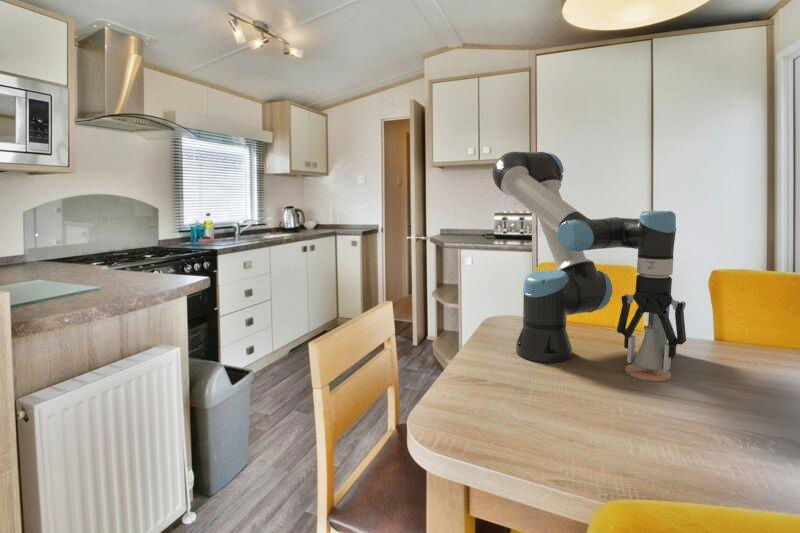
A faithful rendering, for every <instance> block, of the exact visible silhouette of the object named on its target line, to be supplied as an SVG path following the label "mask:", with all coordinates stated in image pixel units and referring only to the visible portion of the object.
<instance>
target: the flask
mask: <svg viewBox="0 0 800 533" xmlns="http://www.w3.org/2000/svg"><path fill="white" fill-rule="evenodd" d="M643 330H644V335H643V339H642V342H641V343H640V346H639V348H638V350H637V352H636V354H635V355H634V360H633V361H632V364H634V365H635V366H637V367H639V368H642V369H648V370H663V367H664V358H663V357H662V355H661V353H660V350H659V347H658V343H657V337H656V333H657V331H658V327H655V326H648V325H643Z"/></svg>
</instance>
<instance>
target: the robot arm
mask: <svg viewBox="0 0 800 533" xmlns="http://www.w3.org/2000/svg"><path fill="white" fill-rule="evenodd" d="M563 173H564V166H563V162H562V161H561V159H560V158H559V157H558V156H557V155H555V153H550V152H545V151H538V152H532V151H510V152H506V153H504V154H503V155H501V156H500V157H499V158H498V159H497V160H496V162H495V163H494V165H493V169H492V180H493V182H494V184H495V186H496V187H497V188H498V190H500V192H502V193H503V194H504V195H506V196H512V197H514V198H515V199H516V200H517V201H518V202H519V203H521V204H522V205H523V206H524V207H525V208H527V209H528V210H529V211H530V212H531V213H533V214H534V216H536V217H537V218H538V221H539V224H540V227H541V229H542V231H543V234H544V237H545V239H546V241H547V244H548V246H549V247H548V248H549V251H550V253H551V255H552V258H553V260H554V263H555V266H556V269H544V270H539V271H534V272H531V273H529V274H528V275H527V276H526V277H525V278H524V282H523V284H524V285H523V290H522V293H523V309H522V310H523V312H522V328H521V329H520V333H519V334H518V335H519V336H518V338H517V341H516V343H515V344H516V345H515V348H516V349H515V352H516V354H517V355H518V356H520V357H521V358H524V359H526V360H529V361H533V362H541V363H562V362H565V361H568V360H570V359H571V358H573V347H572V344H571V340H570V336H569V334H568V332H567V316H571V315H578V314H583V313H593V312H596V311H600V310H602V309H604V308H605V307H606V306H607V305H608V304H609V303H610V301H611V298H612V295H613V284H612V281H611V278H610V276H609V275H608V274H607V273H605V272H604V271H601V270H597V267H596V265H595V263H594V260H591V259H589V258H587V257H586V254H585V252H584V251H592V250H599V249H600V250H601V249H602V250H603V249H604V250H605V249H614V248H627V249H636V250H637V261H636V262H637V263H636V273H637V276H636V279H635V291H634V293H633V294H627V293H626V294H624V295H622V296H621V304H622V305H621V310H620V314H619V319H618V324H617V327H616V328H617V329H616V332H617V333H618V334H622V335H623V336H624V340H623V341H624V343H623V344H624V345H623V346H624V349H627V360H626V363H630V364H631V363H633V360H634V358H635V352H636V338H637V337H636V335H634V332H635V330H636V327H637V326H638V324H639V323H640V321H641V319H642V317H643V315H644V314H645V313H646V314H647V313H648V314H649V312H651V313H653V314H657V315H658V317H659V318H660V321H661V323H662V326H663V329H664V332H665V334H666V337H667V344H665V353H664V354H663V355H664V356H663V362H664V367H663V371H669V370H670V369H671V359H674V358H675V357H676V355H677V345H684V344H685V343H686V342H687V335H686V325H685V312H684V310H685V308H686V306H687V304H686V302H685V301H679V300H674V299H673V297H672V283H673V278H672V277H671V276H672V275H673V272H674V270H673V269H674V250H675V242H676V241H675V240H676V232H677V228H676V227H677V226H676V224H677V223H676V222H677V215H676V213H675V212H673V211H672V210H644V211H641V213H640V214H639V218H628V217H627V218H626V217H619V216H618V217H617V216H615V217H605V218H598V219H597V218H596V219H595V218H594V219H593V218H591V219H590V218H588V217H587V216H586V215H584V214H583V213H582V212H580V211H579V210H577V209H576V208H574V207H573V206H572V205H570V204H569V203H568V202H567V201H565V200H564V199H563V198H562V195H561V192H560V190H561V187H562V181H563V180H564V179H563V178H564V175H563ZM634 301H635V303H636V305H637V306H638V307H637V308H636V310H635V312H634V315H633V316H632V319H631V321H630V322H629V324H628V326H627V323H628V318H629V314H630V309H631V306H632V303H633V302H634ZM669 305H670V306H671V305H672V310H673V311H674V318H675V319H674V320H675V327H676V333H675V331H674V328H673V326H672V323H671V319H670V316H669V317H668V312H667V310H666V308H667V307H668V306H669ZM626 327H627V328H626Z"/></svg>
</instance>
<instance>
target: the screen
mask: <svg viewBox="0 0 800 533" xmlns="http://www.w3.org/2000/svg"><path fill="white" fill-rule="evenodd" d="M670 306H671V304H670V305H669V306H668V307H667V308H666V310H667V312H668V317H669V318H670V308H671V307H670ZM647 321H648V322H647V326H655V327H658V331H657V333H656V337H657V343H658V347H659V350H660V353H661V356H662V355H664V353H665V344H667V343H668V340H667V337H666V334H665V332H664V329H663V326H662V323H661V321H660V318H659V317H658V315H657V314H653V313H651V312H648V320H647Z"/></svg>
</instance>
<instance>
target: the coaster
mask: <svg viewBox="0 0 800 533" xmlns="http://www.w3.org/2000/svg"><path fill="white" fill-rule="evenodd" d="M624 371H625V373H626V374H627V375H629V376H630V377H632V378H635V379H638V380H641V381H646V382H654V383H656V382H657V383H658V382H660V383H661V382H667V381H670V380H671V379H672V373H671V372H670V371H669V370H668V371H663V370H648V369H642V368H639V367H637V366H635V365H634V364H633V363H632V364H631V363H630V364H628V365H626V366H625V368H624Z"/></svg>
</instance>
